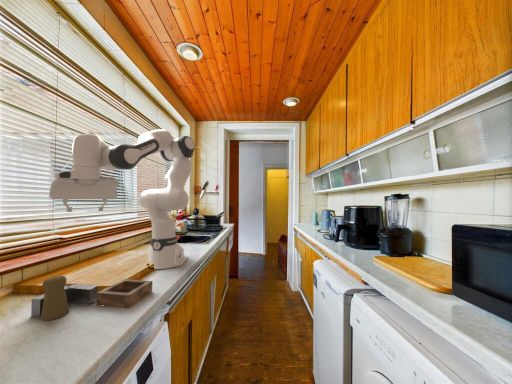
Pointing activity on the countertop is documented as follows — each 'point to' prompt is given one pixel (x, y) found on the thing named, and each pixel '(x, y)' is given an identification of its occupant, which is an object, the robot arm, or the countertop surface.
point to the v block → (68, 297)
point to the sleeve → (118, 298)
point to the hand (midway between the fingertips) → (85, 211)
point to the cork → (54, 298)
